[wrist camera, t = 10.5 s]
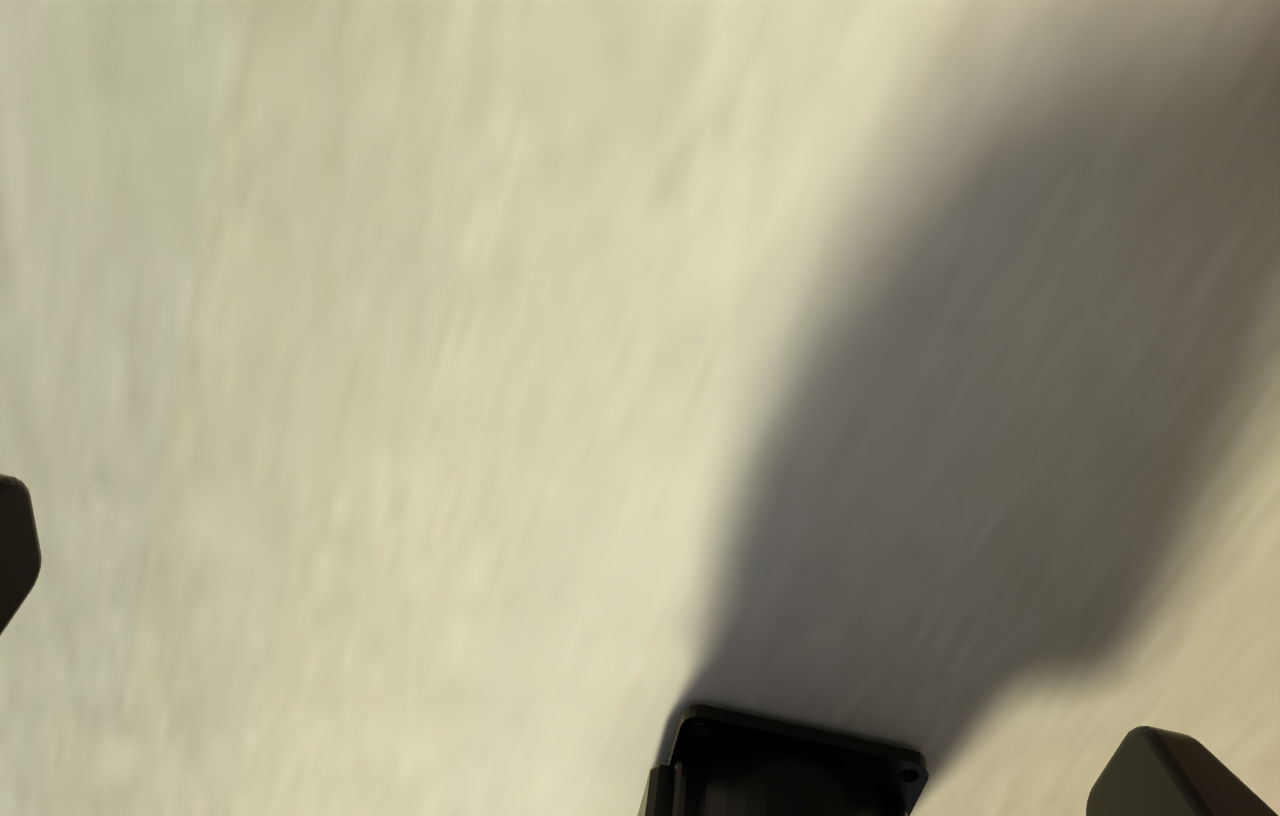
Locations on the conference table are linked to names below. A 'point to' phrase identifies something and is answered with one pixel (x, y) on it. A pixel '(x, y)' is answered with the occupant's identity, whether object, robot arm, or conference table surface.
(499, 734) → the conference table surface
